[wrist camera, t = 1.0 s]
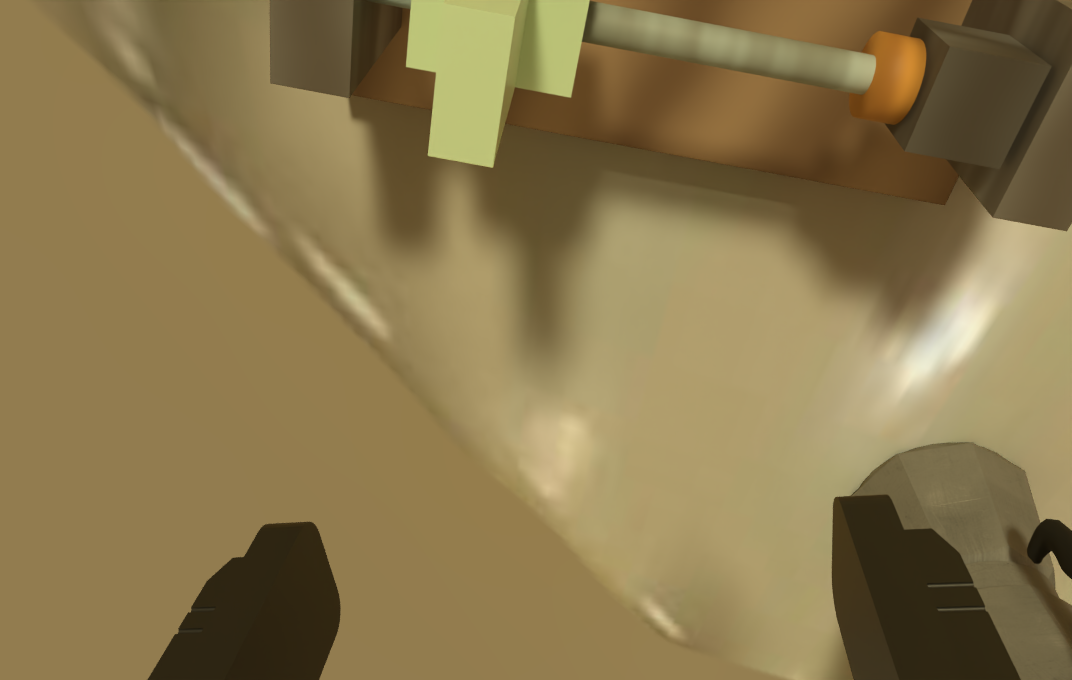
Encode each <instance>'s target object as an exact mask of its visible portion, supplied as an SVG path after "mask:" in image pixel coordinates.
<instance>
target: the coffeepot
mask: <svg viewBox="0 0 1072 680" xmlns="http://www.w3.org/2000/svg"><path fill="white" fill-rule="evenodd" d="M884 494H887V495H889V496H890V498H891V499H892V502H893V504H894V506H895V509H896V511H897V513H898V516H899V518H900V521H901V523H902V525H903V528H904V530H907V529H929V528H932V529H933V530H934V531H935V532H937V533H938V534H939V535H940V536H941V537H942V538H943V539H944V540H946V541H947V542H948V543H949V544H950V545H951V546H952V547H954V548H955V549H956V550H957V551H958V552H959V553H960V555H961V557H962V559H963V561H964V563H965V565H966V567H967V569H968V571H969V573H970V575H971V577H972V580H973V583H974V587H976V588H977V590H978V592H979V594H980V596H981V598H982V600H983V602H984V604H985V610H986V612H988V613H989V615H990V617H991V619H992V621H993V623H994V625H995V627H996V629H997V631H998V633H999V635H1000V637H1001V639H1002V641H1003V643H1004V646H1005V648H1006V650H1007V652H1008V654H1009V656H1010V658H1011V660H1012V662H1013V664H1014V666H1015V668H1016V670H1017V672H1018V674H1019V676H1020V679H1021V680H1072V605H1070V604H1068V603H1067V602H1065V601H1063V600H1062V599H1060V598H1059V596H1058V594H1057V592H1056V590H1055V575H1054V568H1053V564H1052V561H1051V557H1050V554H1049V552H1050V551H1052V552H1053V553H1054V555H1055V556H1056V558H1057V560H1058V563H1059V565H1060V567H1061V569H1062V570H1063V571H1064V572H1065V574H1066V575H1067V576H1069V577H1070V578H1071V579H1072V531H1071V530H1070V529H1069V528H1068V527H1066V526H1065V525H1064V524H1063V523H1062V522H1060V521H1059V520H1052V519H1046V520H1044V521H1043V522H1041V523H1040V520H1039V517H1038V513H1037V510H1036V507H1035V503H1034V500H1033V497H1032V493H1031V490H1030V486H1029V483H1028V480H1027V476H1026V473H1025V471H1024V470H1022V469H1021V468H1019V467H1017V466H1016V465H1014V464H1012V463H1011V462H1009V461H1007V460H1006V459H1005V458H1003V457H1002V456H1000V455H999V454H997V453H996V452H993V451H991V450H988V449H986V448H984V447H980V446H978V445H976V444H974V443H942V444H932V445H927V446H923V447H918V448H915V449H912V450H909V451H906V452H904V453H901V454H897V455H895V456H894V457H892V458H891V459H889V460H887V461H886V462H884V463H883V464H882V465H880V466H879V467H878V468H876V469H875V470H874V471H873V472H872V473H871V474H870V475H869V476H868V477H867V478H866V479H865V480H864V481H863V483H862V484H861V486H860V488H859V489H858V490H857V491H856V492H855V493H854V494H853V495H852V496H865V495H884Z"/></svg>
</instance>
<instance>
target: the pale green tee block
mask: <svg viewBox="0 0 1072 680" xmlns="http://www.w3.org/2000/svg"><path fill="white" fill-rule="evenodd" d="M589 1H590V0H411V10H410V22H409V35H408V47H407V60H406V67H410V68H415V69H420V70H426V71H431V72H436V79H435V89H434V99H433V109H432V119H431V129H430V139H429V148H428V156H432V157H437V158H442V159H448V160H453V161H459V162H464V163H470V164H475V165H481V166H486V167H491V168H493V166H494V162H495V159H496V155H497V151H498V148H499V144H500V140H501V137H502V133H503V129H504V126H505V122H506V118H507V115H508V111H509V108H510V104H511V100H512V97H513V93H514V89H515V87H516V88H522V89H527V90H532V91H538V92H543V93H548V94H554V95H559V96H564V97H570V98H571V95H572V89H573V84H574V79H575V74H576V69H577V64H578V58H579V53H580V48H581V43H582V38H583V32H584V27H585V22H586V17H587V12H588V7H589Z"/></svg>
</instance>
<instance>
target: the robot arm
mask: <svg viewBox="0 0 1072 680" xmlns="http://www.w3.org/2000/svg"><path fill="white" fill-rule="evenodd" d="M832 589H833V598H834V605H835V611H836V616H837V620H838V624H839V627H840V631H841V635H842V638H843V642H844V646H845V649H846V653H847V656H848V660H849V664H850V667H851V671H852V674H853V678H854V680H1021V679H1020V676H1019V674H1018V672H1017V670H1016V668H1015V666H1014V664H1013V662H1012V660H1011V658H1010V656H1009V654H1008V652H1007V650H1006V648H1005V646H1004V643H1003V641H1002V639H1001V637H1000V635H999V633H998V631H997V629H996V627H995V625H994V623H993V621H992V619H991V617H990V615H989V613H988V612H986V610H985V604H984V602H983V600H982V598H981V596H980V594H979V592H978V590H977V588H976V587H974V583H973V580H972V577H971V575H970V573H969V571H968V569H967V567H966V565H965V563H964V561H963V559H962V557H961V555H960V553H959V552H958V551H957V550H956V549H955V548H954V547H952V546H951V545H950V544H949V543H948V542H947V541H946V540H944V539H943V538H942V537H941V536H940V535H939V534H938V533H937V532H935V531H934V530H933V529H932V528H929V529H907V530H904V528H903V525H902V523H901V521H900V518H899V516H898V513H897V511H896V509H895V506H894V504H893V502H892V499H891V498H890V496H889V495H887V494H884V495H865V496H845V497H835V499H834V503H833V537H832ZM191 609H192V610H191V613H188V614H187V615H186V617H185V619H184V620H183V622H182V623H181V625H180V627H179V632H178V634H175V635H174V637H173V639H172V640H171V642H170V644H169V645H168V647H167V648H166V650H165V652H164V654H163V655H162V657H161V658H160V660H159V662H158V664H157V665H156V667H155V668H154V670H153V672H152V673H151V675H150V677H149V678H148V680H319V678H320V676H321V673H322V670H323V668H324V665H325V663H326V660H327V658H328V655H329V653H330V650H331V647H332V645H333V642H334V640H335V637H336V634H337V631H338V627H339V622H340V599H339V593H338V590H337V587H336V583H335V580H334V577H333V574H332V571H331V568H330V565H329V562H328V559H327V555H326V552H325V549H324V546H323V543H322V540H321V537H320V534H319V531H318V529H317V527H316V526H315V524H314V523H312V522H298V523H297V522H296V523H276V524H266V525H264V526H263V527H262V528H261V529H260V530H259V532H258V533H257V535H256V537H255V539H254V541H253V542H252V544H251V546H250V547H249V549H248V551H247V553H246V554H245V556H244V557H238V558H232V559H231V560H230V561H229V562H228V563H227V564H226V565H224V566H223V567H222V568H221V569H220V570H219V571H218V572H217V573H216V574H215V575H213V576H212V577H211V578H210V579H209V580H208V581H207V582H206V584H205V585H204V587H203V589H202V590H201V592H200V594H199V595H198V597H197V599H196V600H195V602H194V604H193V605H192V607H191Z"/></svg>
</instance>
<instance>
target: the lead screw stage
mask: <svg viewBox="0 0 1072 680" xmlns="http://www.w3.org/2000/svg"><path fill="white" fill-rule="evenodd" d="M410 10H411V0H270V83H271V84H276V85H282V86H287V87H293V88H298V89H303V90H309V91H314V92H319V93H325V94H330V95H336V96H341V97H346V98H350V96H351V95H354V96H359V97H365V98H370V99H375V100H381V101H386V102H392V103H397V104H402V105H408V106H413V107H418V108H424V109H429V110H432V109H433V99H434V89H435V79H436V72H431V71H426V70H420V69H415V68H410V67H406V60H407V47H408V35H409V22H410ZM505 124H510V125H515V126H521V127H526V128H532V129H537V130H542V131H548V132H553V133H558V134H564V135H569V136H575V137H580V138H585V139H591V140H596V141H602V142H607V143H612V144H618V145H623V146H628V147H634V148H639V149H645V150H650V151H655V152H661V153H666V154H672V155H677V156H682V157H688V158H693V159H698V160H704V161H709V162H715V163H720V164H725V165H731V166H736V167H741V168H747V169H752V170H758V171H763V172H768V173H774V174H779V175H785V176H790V177H795V178H801V179H806V180H811V181H817V182H822V183H828V184H833V185H838V186H844V187H849V188H855V189H860V190H865V191H871V192H876V193H881V194H887V195H892V196H898V197H903V198H908V199H914V200H919V201H925V202H930V203H935V204H941V205H945V204H946V202H947V200H948V198H949V196H950V194H951V191H952V189H953V187H954V185H955V183H956V181H957V179H958V177H959V176H960V177H961V179H962V180H963V181H964V182H965V184H966V185H967V186H968V187H969V189H970V190H971V191H972V192H973V194H974V195H975V196H976V197H977V199H978V200H979V201H980V202H981V204H982V205H983V206H984V207H985V208H986V210H987V211H988V212H989V213H990V215H991V216H992V217H993V218H998V219H1004V220H1009V221H1014V222H1020V223H1025V224H1031V225H1036V226H1041V227H1047V228H1052V229H1058V230H1063V231H1067V230H1068V228H1069V227H1070V225H1071V223H1072V0H590V1H589V7H588V12H587V17H586V22H585V27H584V32H583V38H582V43H581V48H580V53H579V58H578V64H577V69H576V74H575V79H574V84H573V89H572V95H571V98H570V97H564V96H559V95H554V94H548V93H543V92H538V91H532V90H527V89H522V88H516V87H515V89H514V93H513V97H512V100H511V104H510V108H509V111H508V115H507V118H506V122H505Z"/></svg>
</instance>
